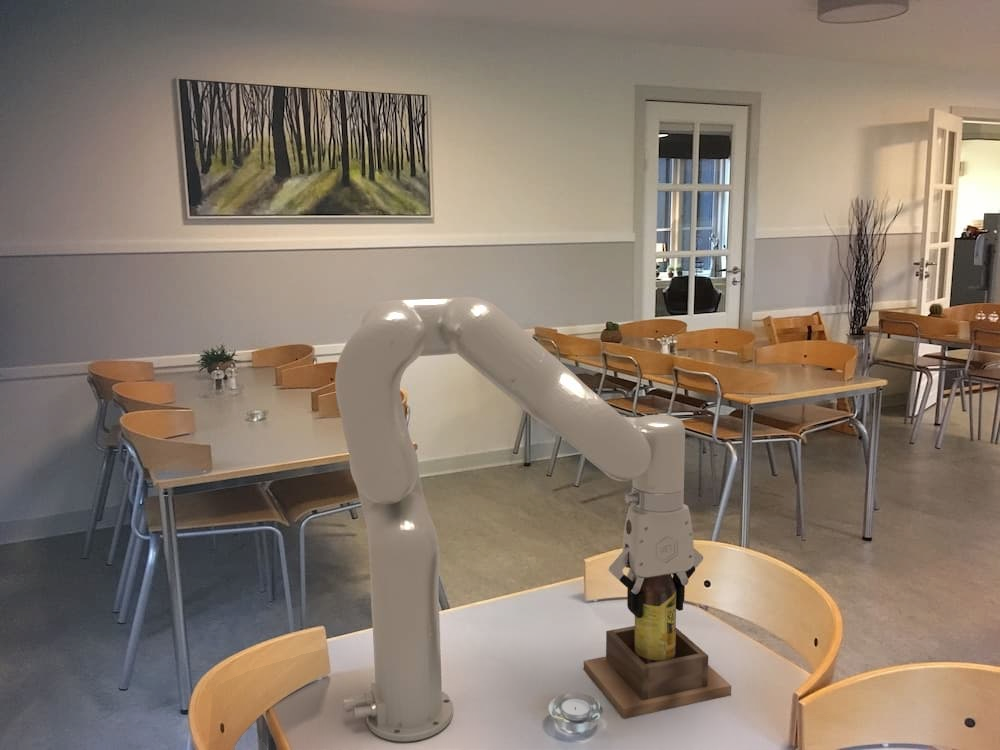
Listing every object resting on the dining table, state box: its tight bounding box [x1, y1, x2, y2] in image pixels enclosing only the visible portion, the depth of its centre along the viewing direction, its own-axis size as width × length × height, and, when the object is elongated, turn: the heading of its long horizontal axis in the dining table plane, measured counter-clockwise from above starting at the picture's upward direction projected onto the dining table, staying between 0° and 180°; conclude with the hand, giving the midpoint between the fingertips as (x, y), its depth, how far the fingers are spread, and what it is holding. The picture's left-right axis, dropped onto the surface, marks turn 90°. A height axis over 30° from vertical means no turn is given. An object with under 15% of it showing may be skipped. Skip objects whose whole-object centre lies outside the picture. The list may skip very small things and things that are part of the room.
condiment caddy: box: [583, 625, 732, 719], centre depth 121 cm, size 18×14×6 cm
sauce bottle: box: [634, 574, 677, 664], centre depth 119 cm, size 6×6×20 cm
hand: (655, 609), depth 119 cm, fingers closed on sauce bottle, 6 cm apart
